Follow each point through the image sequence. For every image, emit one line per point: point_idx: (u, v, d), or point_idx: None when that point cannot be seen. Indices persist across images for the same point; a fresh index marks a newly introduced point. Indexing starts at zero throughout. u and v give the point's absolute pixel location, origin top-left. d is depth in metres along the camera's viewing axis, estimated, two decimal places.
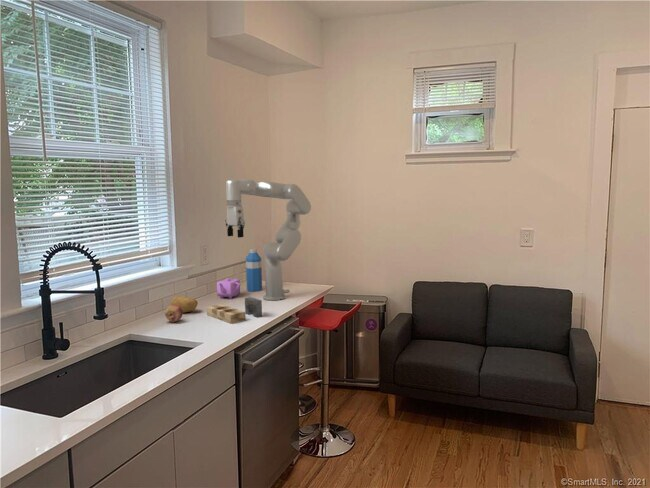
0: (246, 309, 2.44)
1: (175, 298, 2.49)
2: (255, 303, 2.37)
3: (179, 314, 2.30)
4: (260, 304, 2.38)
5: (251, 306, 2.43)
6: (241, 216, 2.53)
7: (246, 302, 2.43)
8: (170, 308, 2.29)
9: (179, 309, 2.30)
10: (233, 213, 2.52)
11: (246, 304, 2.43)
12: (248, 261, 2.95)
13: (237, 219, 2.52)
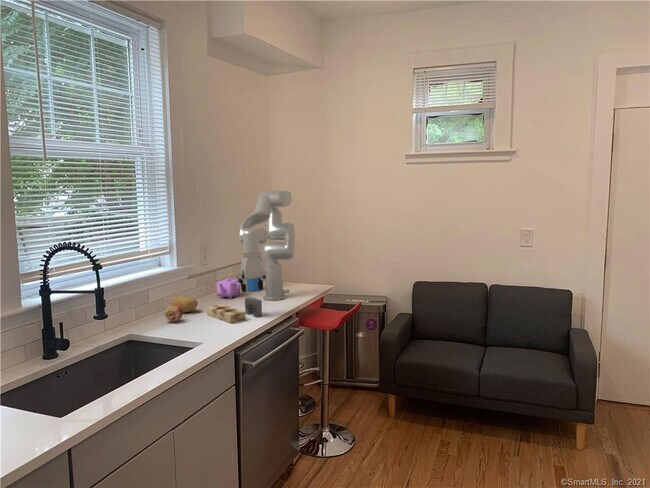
0: (246, 309, 2.44)
1: (175, 298, 2.49)
2: (255, 303, 2.37)
3: (179, 314, 2.30)
4: (260, 304, 2.38)
5: (251, 306, 2.43)
6: None
7: (246, 302, 2.43)
8: (170, 308, 2.29)
9: (179, 309, 2.30)
10: (259, 265, 2.39)
11: (246, 304, 2.43)
12: None
13: None
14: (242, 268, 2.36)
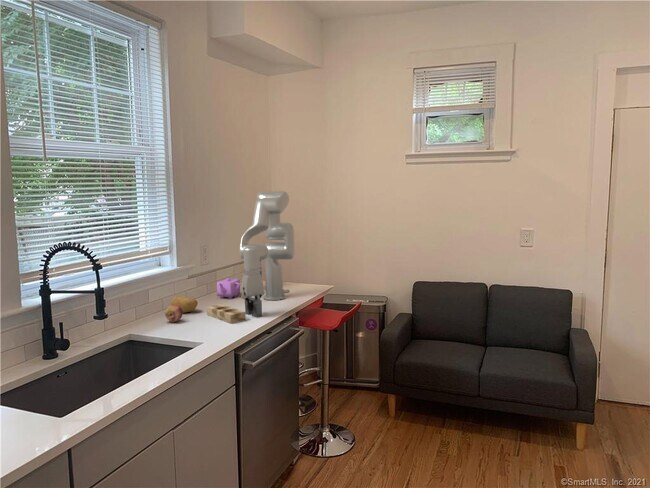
0: (246, 309, 2.44)
1: (175, 298, 2.49)
2: (255, 303, 2.37)
3: (179, 314, 2.30)
4: (260, 304, 2.38)
5: None
6: None
7: (246, 302, 2.43)
8: (170, 308, 2.29)
9: (179, 309, 2.30)
10: (260, 282, 2.40)
11: (246, 304, 2.43)
12: None
13: None
14: (243, 285, 2.37)
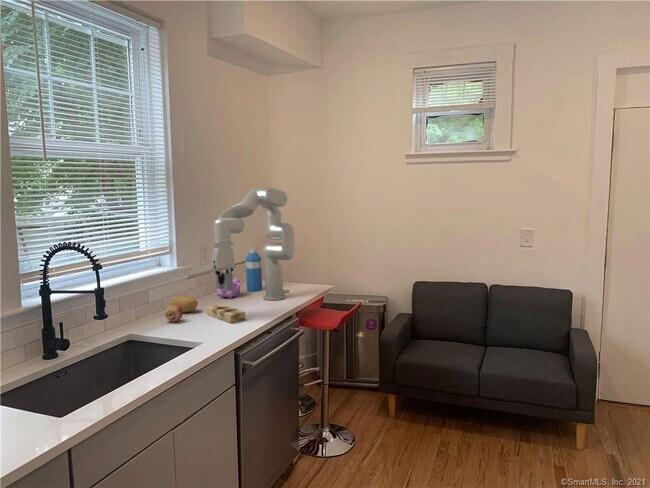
0: (217, 283, 2.38)
1: (175, 298, 2.49)
2: (226, 276, 2.32)
3: (179, 314, 2.30)
4: (231, 277, 2.33)
5: None
6: None
7: (217, 276, 2.38)
8: (170, 308, 2.29)
9: (179, 309, 2.30)
10: (231, 255, 2.35)
11: (217, 278, 2.38)
12: (248, 261, 2.95)
13: None
14: (213, 258, 2.32)
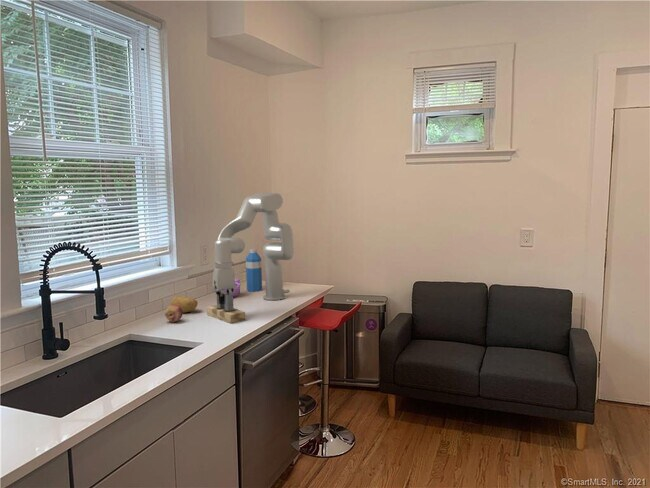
0: (218, 303, 2.39)
1: (175, 298, 2.49)
2: (226, 297, 2.33)
3: (179, 314, 2.30)
4: (231, 298, 2.34)
5: None
6: None
7: (218, 296, 2.39)
8: (170, 308, 2.29)
9: (179, 309, 2.30)
10: (231, 275, 2.36)
11: (218, 298, 2.39)
12: (248, 261, 2.95)
13: None
14: (214, 278, 2.33)
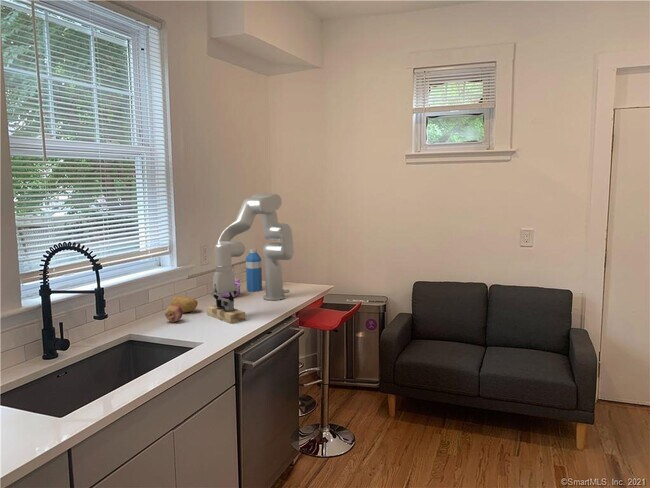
0: None
1: (175, 298, 2.49)
2: (227, 304, 2.34)
3: (179, 314, 2.30)
4: (232, 305, 2.34)
5: (223, 307, 2.40)
6: None
7: None
8: (170, 308, 2.29)
9: (179, 309, 2.30)
10: (231, 279, 2.36)
11: None
12: (248, 261, 2.95)
13: None
14: (214, 282, 2.33)
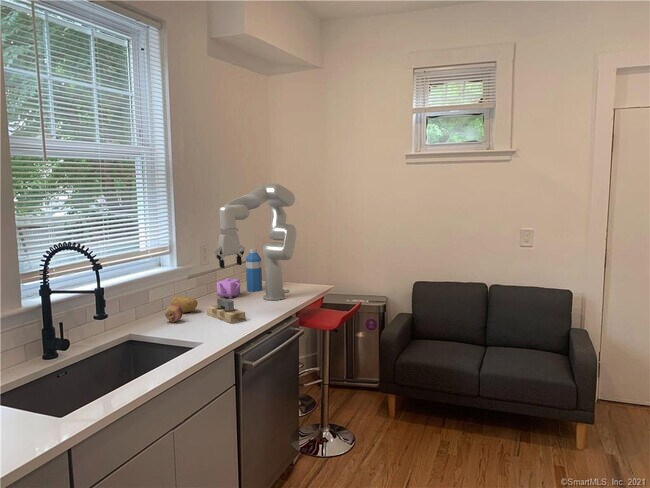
0: None
1: (175, 298, 2.49)
2: (227, 304, 2.34)
3: (179, 314, 2.30)
4: (232, 305, 2.34)
5: (223, 307, 2.40)
6: None
7: (218, 303, 2.39)
8: (170, 308, 2.29)
9: (179, 309, 2.30)
10: (236, 241, 2.42)
11: (218, 305, 2.40)
12: (248, 261, 2.95)
13: None
14: (220, 244, 2.38)
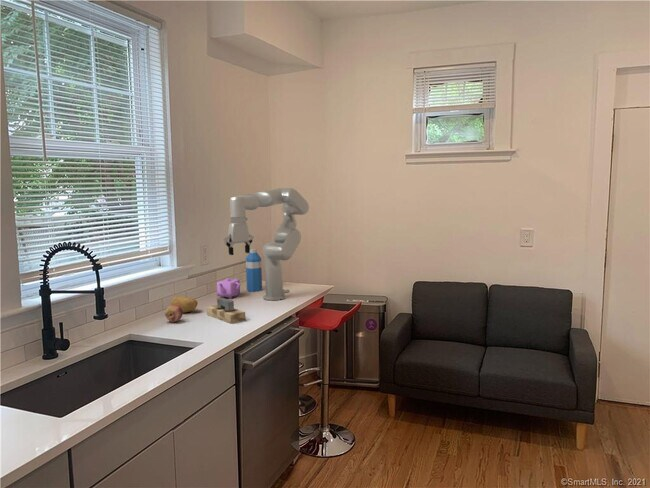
0: None
1: (175, 298, 2.49)
2: (227, 304, 2.34)
3: (179, 314, 2.30)
4: (232, 305, 2.34)
5: (223, 307, 2.40)
6: None
7: (218, 303, 2.39)
8: (170, 308, 2.29)
9: (179, 309, 2.30)
10: (245, 229, 2.53)
11: (218, 305, 2.40)
12: (248, 261, 2.95)
13: None
14: (229, 232, 2.50)
